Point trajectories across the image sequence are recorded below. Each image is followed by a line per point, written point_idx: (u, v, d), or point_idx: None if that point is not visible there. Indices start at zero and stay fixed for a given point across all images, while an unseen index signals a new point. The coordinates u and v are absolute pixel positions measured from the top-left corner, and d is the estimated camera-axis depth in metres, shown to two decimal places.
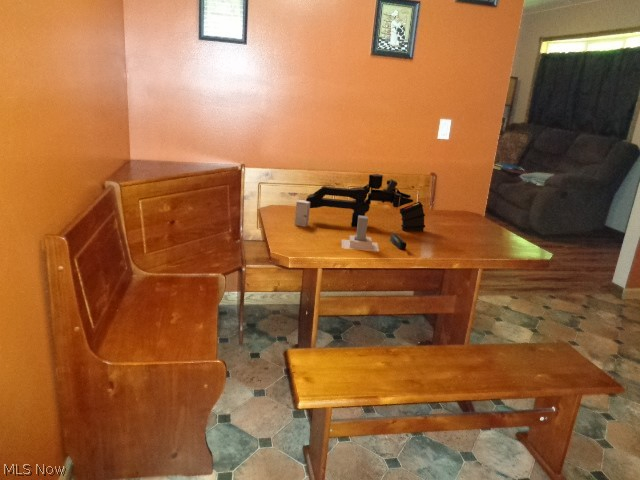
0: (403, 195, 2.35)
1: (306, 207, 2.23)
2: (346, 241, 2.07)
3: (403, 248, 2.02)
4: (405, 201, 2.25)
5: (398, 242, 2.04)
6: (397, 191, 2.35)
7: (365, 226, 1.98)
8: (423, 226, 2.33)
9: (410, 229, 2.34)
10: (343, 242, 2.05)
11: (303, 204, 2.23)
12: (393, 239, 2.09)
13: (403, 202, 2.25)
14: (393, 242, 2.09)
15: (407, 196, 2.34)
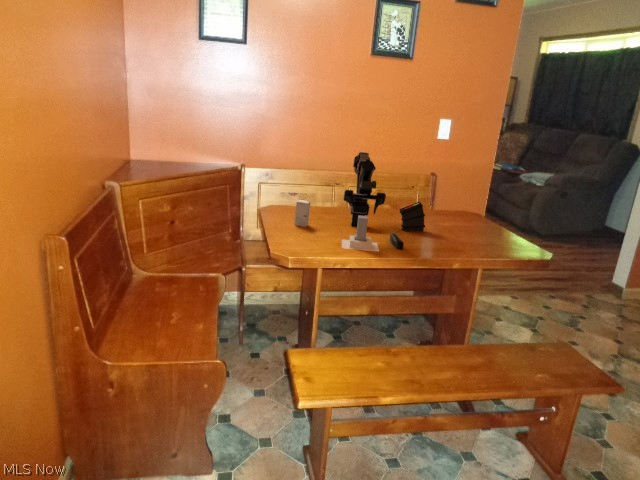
0: (374, 206, 2.08)
1: (306, 207, 2.23)
2: (346, 241, 2.07)
3: (400, 248, 2.02)
4: (351, 205, 2.09)
5: (396, 241, 2.04)
6: (376, 198, 2.08)
7: (365, 226, 1.98)
8: (423, 226, 2.33)
9: (410, 229, 2.34)
10: (343, 242, 2.05)
11: (303, 204, 2.23)
12: (392, 238, 2.09)
13: (350, 203, 2.10)
14: (392, 241, 2.09)
15: None
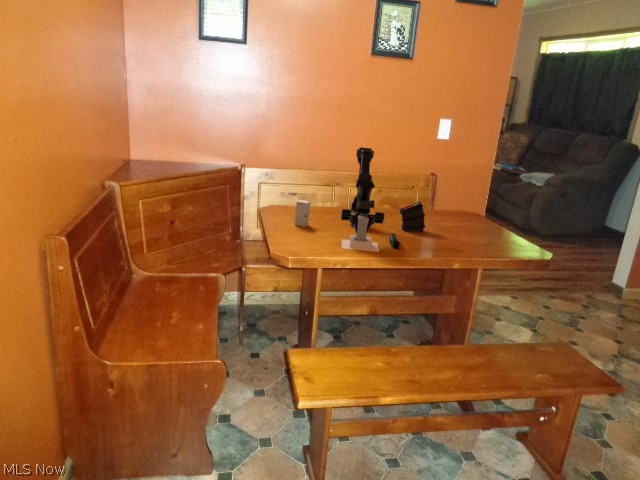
0: (367, 226, 2.02)
1: (306, 207, 2.23)
2: (346, 241, 2.07)
3: (396, 247, 2.02)
4: (354, 225, 2.02)
5: (392, 241, 2.05)
6: (368, 217, 2.01)
7: (365, 226, 1.98)
8: (423, 226, 2.33)
9: (410, 229, 2.34)
10: (343, 242, 2.05)
11: (303, 204, 2.23)
12: (390, 238, 2.10)
13: (353, 224, 2.03)
14: (390, 241, 2.10)
15: None
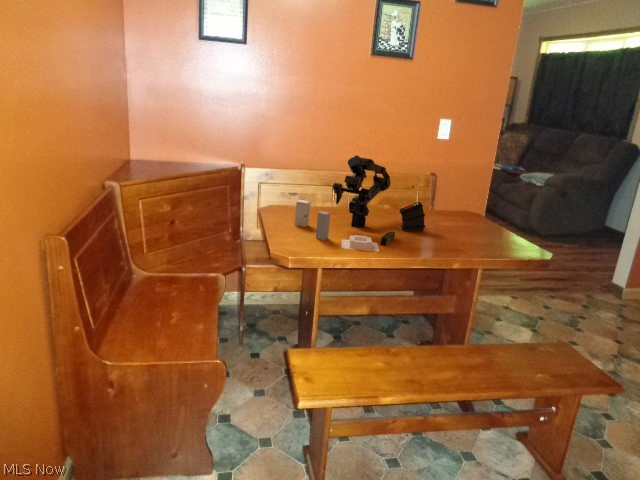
0: None
1: (306, 207, 2.23)
2: (346, 241, 2.07)
3: (382, 243, 2.06)
4: None
5: None
6: None
7: (323, 221, 2.03)
8: (423, 226, 2.33)
9: (410, 229, 2.34)
10: (343, 242, 2.05)
11: (303, 204, 2.23)
12: None
13: None
14: None
15: None
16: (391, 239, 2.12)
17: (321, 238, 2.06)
